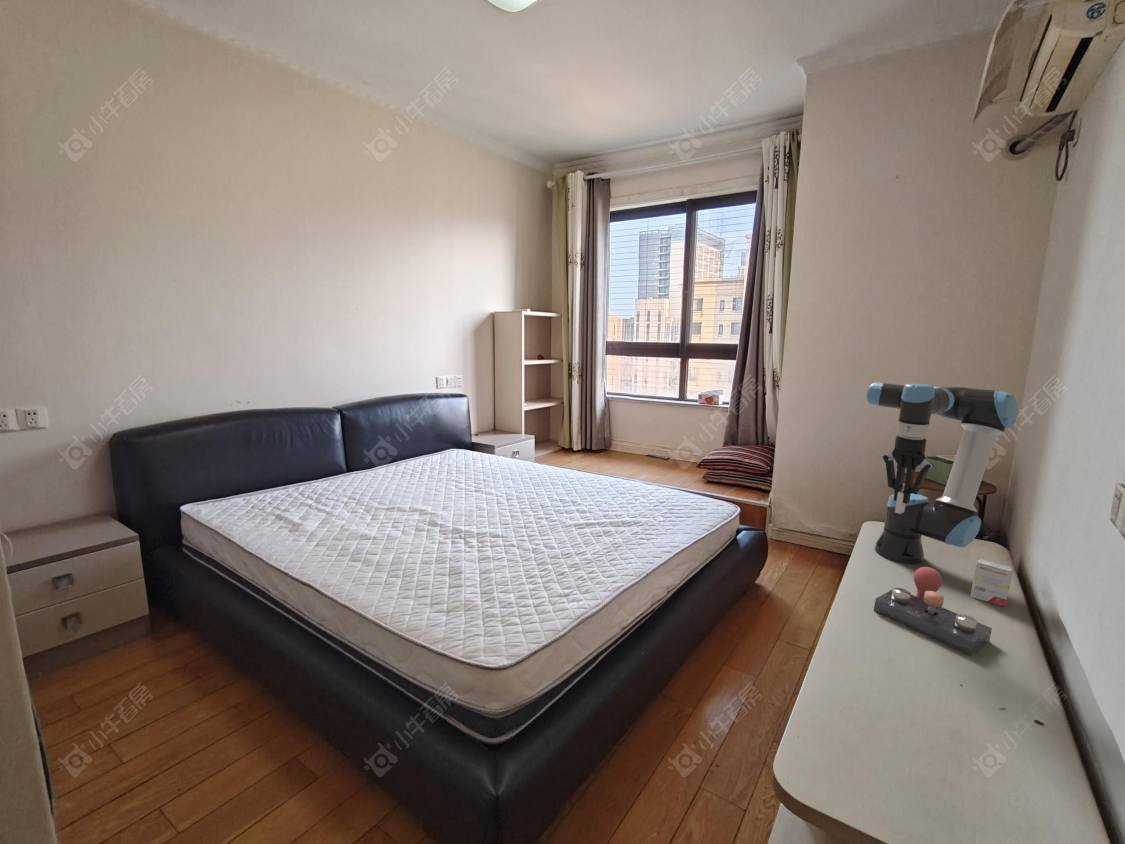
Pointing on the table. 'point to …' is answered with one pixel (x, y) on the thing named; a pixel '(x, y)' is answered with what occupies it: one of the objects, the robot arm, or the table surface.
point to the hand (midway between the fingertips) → (899, 512)
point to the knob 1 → (901, 595)
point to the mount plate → (933, 623)
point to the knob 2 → (933, 601)
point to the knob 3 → (965, 623)
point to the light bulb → (926, 581)
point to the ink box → (991, 582)
